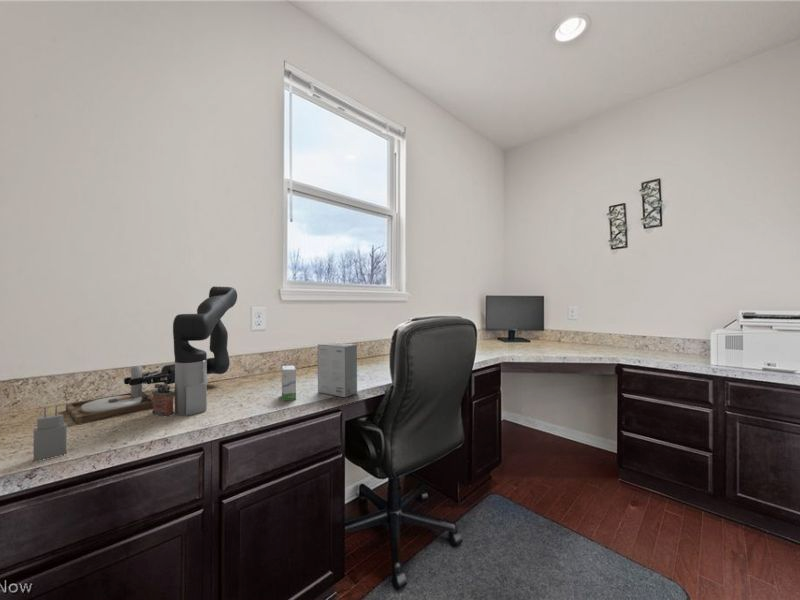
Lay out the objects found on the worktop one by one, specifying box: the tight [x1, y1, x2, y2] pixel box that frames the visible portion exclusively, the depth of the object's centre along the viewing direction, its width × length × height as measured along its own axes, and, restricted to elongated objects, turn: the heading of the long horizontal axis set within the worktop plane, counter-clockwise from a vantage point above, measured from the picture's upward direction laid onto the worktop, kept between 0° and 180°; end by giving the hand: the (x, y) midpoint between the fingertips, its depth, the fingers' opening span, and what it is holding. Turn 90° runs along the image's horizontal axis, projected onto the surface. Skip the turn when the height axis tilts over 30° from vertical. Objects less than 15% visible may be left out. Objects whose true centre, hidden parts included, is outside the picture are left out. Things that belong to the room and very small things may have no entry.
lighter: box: [151, 383, 175, 417], centre depth 110 cm, size 8×3×10 cm, turn 71°
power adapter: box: [32, 405, 68, 462], centre depth 80 cm, size 3×5×12 cm, turn 134°
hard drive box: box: [317, 342, 358, 398], centre depth 135 cm, size 16×8×20 cm, turn 58°
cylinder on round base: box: [81, 365, 143, 414], centre depth 115 cm, size 16×16×12 cm
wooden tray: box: [65, 391, 153, 426], centre depth 115 cm, size 21×21×2 cm
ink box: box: [281, 365, 297, 402], centre depth 129 cm, size 8×5×12 cm, turn 22°
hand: (127, 382), depth 119 cm, fingers closed on cylinder on round base, 3 cm apart
